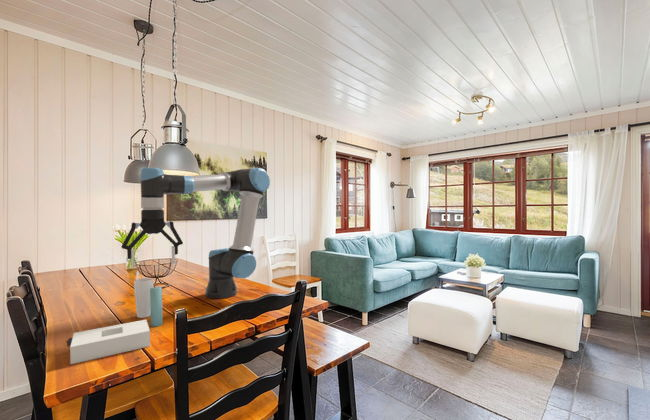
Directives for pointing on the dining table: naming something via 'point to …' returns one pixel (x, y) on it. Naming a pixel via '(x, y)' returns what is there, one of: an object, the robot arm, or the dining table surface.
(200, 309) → the dining table surface
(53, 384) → the dining table surface
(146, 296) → the drinking glass
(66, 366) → the dining table surface
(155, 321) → the teal peg
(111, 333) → the socket block
